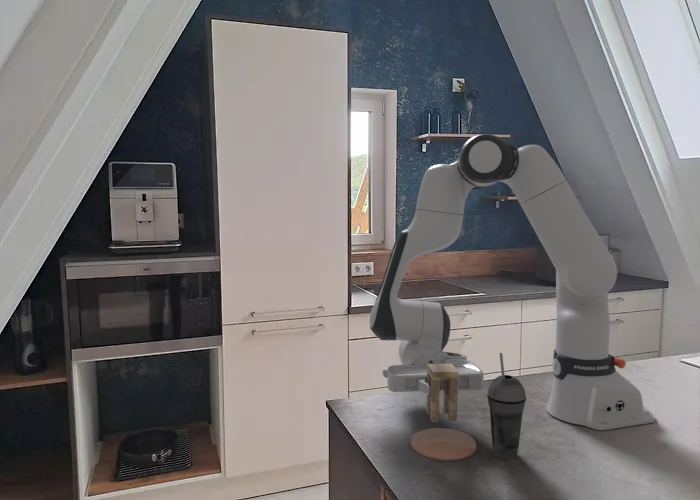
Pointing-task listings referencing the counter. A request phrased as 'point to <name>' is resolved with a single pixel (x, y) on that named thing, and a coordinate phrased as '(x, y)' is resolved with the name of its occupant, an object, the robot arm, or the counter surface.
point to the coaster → (443, 444)
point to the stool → (450, 390)
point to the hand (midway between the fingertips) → (443, 391)
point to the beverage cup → (506, 413)
